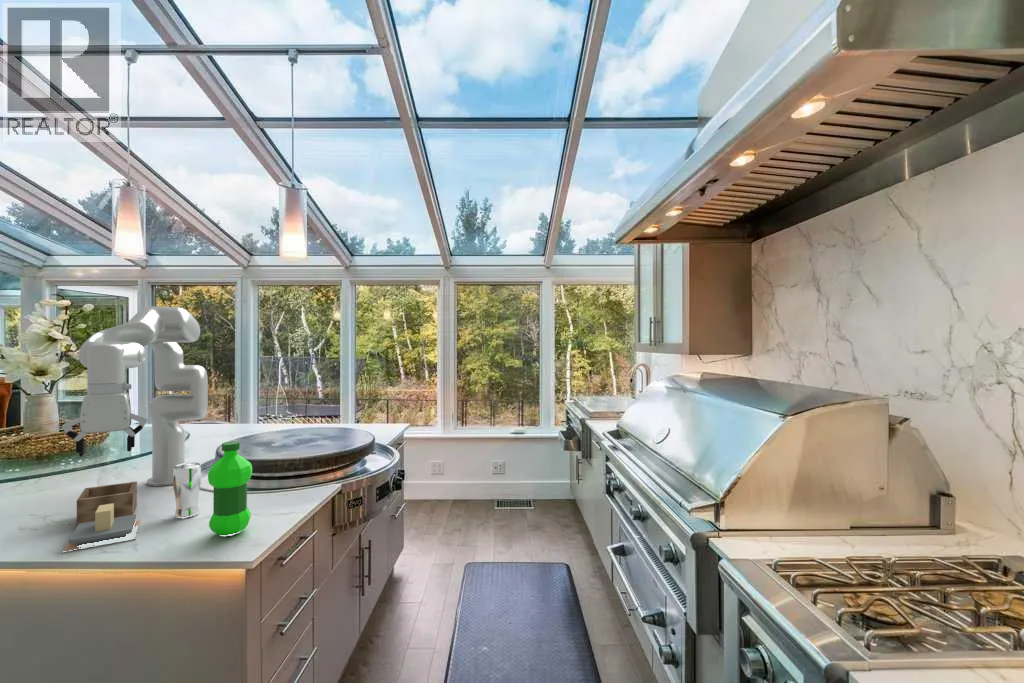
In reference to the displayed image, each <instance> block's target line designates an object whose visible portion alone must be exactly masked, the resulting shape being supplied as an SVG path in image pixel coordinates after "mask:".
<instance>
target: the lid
mask: <svg viewBox="0 0 1024 683" xmlns="http://www.w3.org/2000/svg"><path fill="white" fill-rule="evenodd" d="M136 520H137V513H135V514H134V515H128V516H122V517H116V518H114V503H112V504H106V505H99V507H98V509H97V511H96V512H95V521H91V522H85V523H79V525H78V526H77V525H76V528H75V530H74V532H73V533H72V534H71V536H70V538H69V540H68V541H69V544H73V543H77V546H78V545H82V544H87V543H94V542H99V541H103V540H109V539H114V538H120V537H125V536H126V534H129V533H131V532H132V529H133V525H134V522H135V521H136Z"/></svg>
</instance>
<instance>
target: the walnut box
mask: <svg viewBox="0 0 1024 683" xmlns="http://www.w3.org/2000/svg"><path fill="white" fill-rule="evenodd" d="M112 503H114V518H116V517H122V516H128V515H134V513H135V514H136V511H137V508H136V507H138V481H137V480H136V481H130V482H121V483H115V484H105V485H99V486H91V487H85V488H84V489H83V490H82V492H81V493H80V495H79V497H78V498H77V500H76V527H77V526H78V525H79V523H85V522H91V521H95V512H96V511H97V509H98V507H99V505H106V504H112ZM135 510H136V511H135Z"/></svg>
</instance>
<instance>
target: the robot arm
mask: <svg viewBox="0 0 1024 683" xmlns="http://www.w3.org/2000/svg"><path fill="white" fill-rule="evenodd" d="M200 335H201V327H200V324H199V321H197V319H196V318H195V317H194V316H193V314H191V313H190V312H189V311H188V310H187V309H184V308H183V307H178V306H177V307H175V306H174V307H173V306H145V307H143V308H141V309H140V310H139V311H137V313H135V315H133V316H132V318H130V320H128V321H127V322H126V323H124V324H123V323H122V324H119V325H116V326H112V327H109V328H106V329H102V330H100V331H97V332H95V333H94V334H92V335H90V337H88V339H86V340H85V342H83V343H82V344H81V346H80V349H79V351H78V361H79V363H80V364H81V365H83V366H84V367H85V368H87V369H86V370H87V372H86V375H87V377H86V379H87V381H86V382H87V383H86V386H87V387H86V388H87V389H86V390H87V392H86V393H87V394H84V396H83V399H82V403H81V408H80V409H81V410H80V417H79V416H78V417H77V418H74V419H72V420H70V421H68V422H66V423H63V424H62V425H61V429H62V430H63V431H64V432H65V434H66V435H67V437H69V438H71V439H72V440H73V441H74V442H75V453H76V454H78V457H83V456H84V455H85V454H86V439H85V438H84V437H85V436H86V435H87V434H96V433H97V434H99V433H110V432H121V431H123V432H124V433H126V434H127V435H128V436H127V437H126V442H127V443H126V447H127V448H126V451H127V452H131V451H132V449H133V448H135V442H136V440H135V439H136V437H135V436H136V435H137V434H138V433H139V432H141V431H142V430H143V429H144V426H145V425H146V423H147V422H148V418H147V417H144V416H140V415H138V414H135V413H132V407H131V400H130V395H129V392H126V391H127V390H131V389H132V384H131V383H130V384H129V383H127V382H126V381H125V378H126V376H125V370H126V369H135V368H137V367H140V366H141V365H143V364H144V362H145V360H146V358H147V351H146V348H145V347H146V346H150V347H151V349H152V351H153V355H154V356H153V357H154V358H153V359H154V360H153V361H154V366H153V367H154V385H155V388H156V390H159V391H161V392H190V393H191V394H163V395H158V396H155V397H153V398H152V399H151V401H150V402H149V405H148V412H149V415H150V421H151V422H150V423H151V431H152V433H151V435H152V436H151V441H152V442H151V446H152V447H151V453H152V457H151V460H152V461H151V472H152V473H151V477H150V478H148V479H147V480H146V485H147V484H148V486H150V485H153V486H152V487H164V486H165V487H166V486H173V472H174V467H175V466H177V465H180V464H185V463H186V462H185V458H186V457H185V451H186V450H185V447H186V446H185V445H186V444H185V443H186V441H185V440H186V439H185V437H186V432H185V429H184V428H183V426H182V425H181V424H180V423H179V422H181V421H195V420H196V421H197V420H202V419H204V418H205V417H206V416H207V413H208V406H209V405H208V403H209V402H208V401H209V400H208V399H209V398H208V396H209V394H208V393H209V391H208V390H209V385H208V383H209V381H208V379H209V378H208V373H207V370H206V368H205V367H204V366H201V365H199V364H198V365H197V364H184V351H183V348H181V345H179V344H178V343H194V342H196V341H197V340H199V338H200ZM83 366H82V367H83ZM132 421H136V422H138V425H137V426H136V427H135V428H133V427H132V426H131V425H132ZM78 424H79V428H80V429H79V430H80V432H79V433H78V432H76V431H75V430H73V429H72V427H74V426H75V425H78Z"/></svg>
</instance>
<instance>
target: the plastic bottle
mask: <svg viewBox="0 0 1024 683" xmlns="http://www.w3.org/2000/svg"><path fill="white" fill-rule="evenodd" d="M240 449H241V442H240V441H239V440H237V441H236V440H232V441H225V442H222V444H221V451H222V452H223V456H221V458H220V459H218V460H217V461H216V462H215V463H214V464H213V465H212V466H211V467H210V468H209V471H208V473H207V480H208V483H209V485H210V486H212V487H213V510H212V511H213V514H212V515H211V517H210V519H209V521H208V522H209V523H208V527H209V529H210V530H211V531H212V532H213V533H215V534H216V535H218V536H219V535H228V534H233V533H237V532H239V531H241V530H243V529H244V530H245V529H246V528H247V527H248V525H249V522H250V520H251V517H252V516H251V515H252V514H251V511H250V509H249V508H248V482H249V481H250V480H251V478H252V474H253V465H252V463H251V462H250V460H249V461H248V460H247V459H245V457H243V456H241V455H239V454H238V450H240ZM241 532H242V531H241Z"/></svg>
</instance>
